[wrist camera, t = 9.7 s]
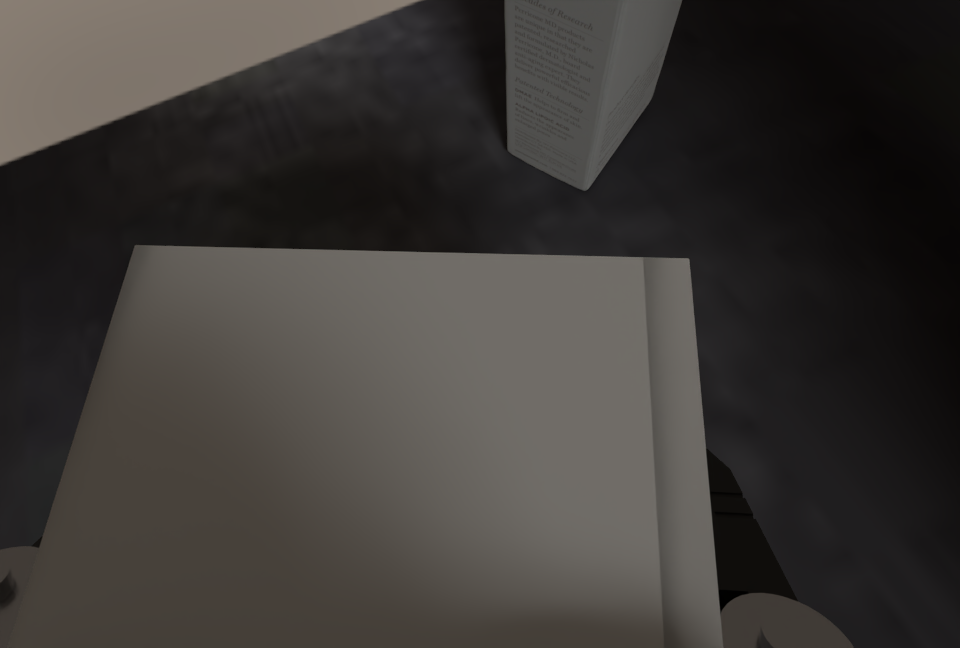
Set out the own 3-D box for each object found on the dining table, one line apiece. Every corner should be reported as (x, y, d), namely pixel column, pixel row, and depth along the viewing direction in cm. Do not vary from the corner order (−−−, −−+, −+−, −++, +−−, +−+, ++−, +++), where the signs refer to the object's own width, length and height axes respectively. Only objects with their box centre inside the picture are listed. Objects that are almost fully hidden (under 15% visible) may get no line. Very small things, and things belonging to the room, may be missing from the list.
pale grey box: (588, 426, 15) (688, 258, 6) (592, 722, 12) (762, 1078, 4) (343, 415, 15) (134, 245, 7) (302, 699, 13) (-96, 973, 4)
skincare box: (571, 66, 27) (606, -272, 16) (657, 104, 26) (759, -233, 15) (501, 159, 26) (485, -147, 14) (589, 203, 24) (647, -92, 13)
